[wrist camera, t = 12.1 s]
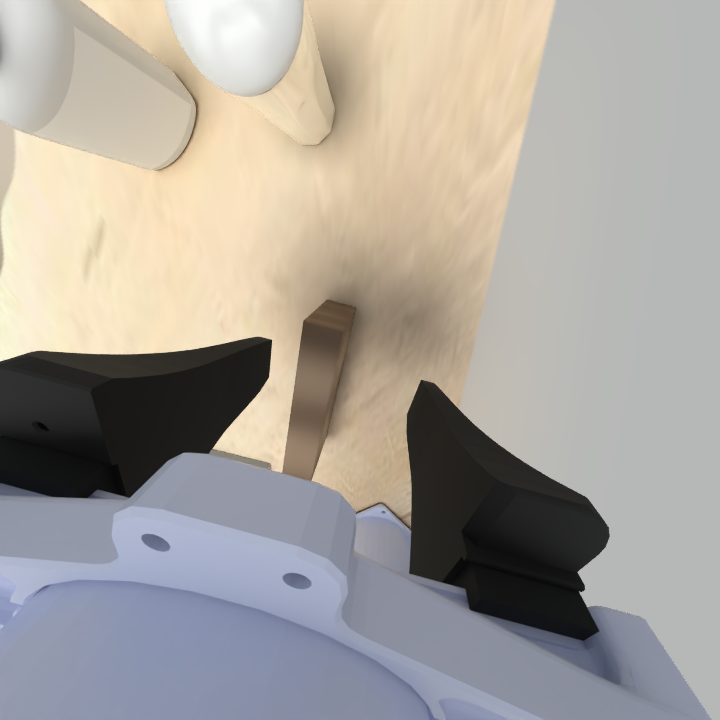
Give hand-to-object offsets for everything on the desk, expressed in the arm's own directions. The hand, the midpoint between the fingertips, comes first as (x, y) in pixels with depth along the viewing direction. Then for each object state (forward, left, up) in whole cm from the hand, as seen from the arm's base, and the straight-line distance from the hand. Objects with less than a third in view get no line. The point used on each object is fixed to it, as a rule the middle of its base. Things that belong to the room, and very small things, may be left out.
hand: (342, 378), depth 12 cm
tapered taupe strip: (-2, +6, -10) cm, 12 cm away
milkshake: (+12, -6, -10) cm, 16 cm away
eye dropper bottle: (+18, +2, -10) cm, 20 cm away
